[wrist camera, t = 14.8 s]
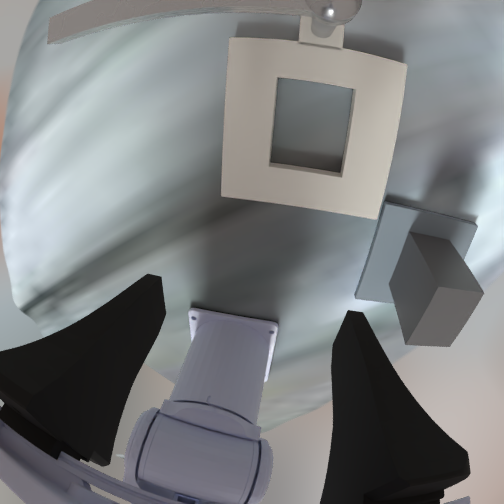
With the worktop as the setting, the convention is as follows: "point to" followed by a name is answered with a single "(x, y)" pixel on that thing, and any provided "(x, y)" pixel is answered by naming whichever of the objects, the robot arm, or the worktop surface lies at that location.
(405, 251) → the plug
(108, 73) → the worktop surface
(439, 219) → the pad
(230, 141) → the socket plate
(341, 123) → the worktop surface
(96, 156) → the worktop surface
